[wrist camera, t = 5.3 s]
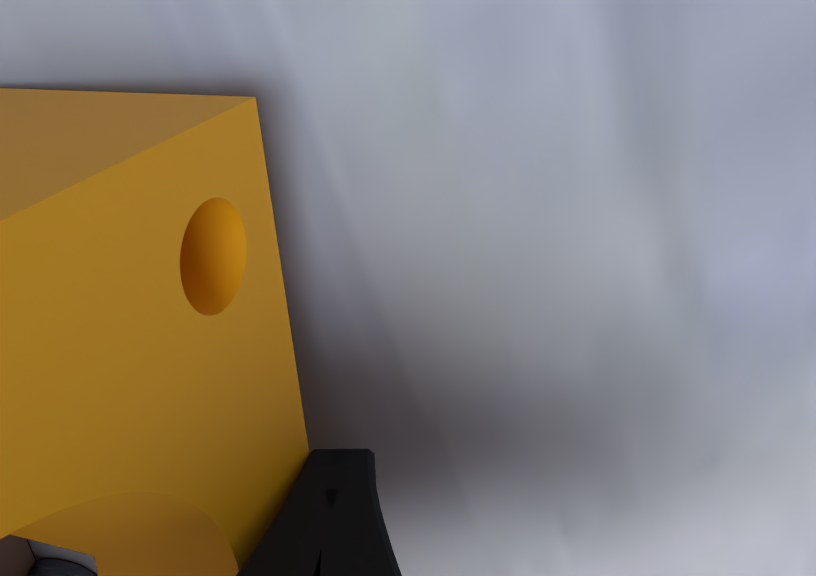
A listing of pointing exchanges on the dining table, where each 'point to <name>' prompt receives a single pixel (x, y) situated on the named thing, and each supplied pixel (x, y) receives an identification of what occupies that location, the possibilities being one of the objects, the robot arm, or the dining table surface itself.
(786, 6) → the dining table surface
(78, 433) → the pipe clamp
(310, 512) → the robot arm
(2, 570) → the bench fence
